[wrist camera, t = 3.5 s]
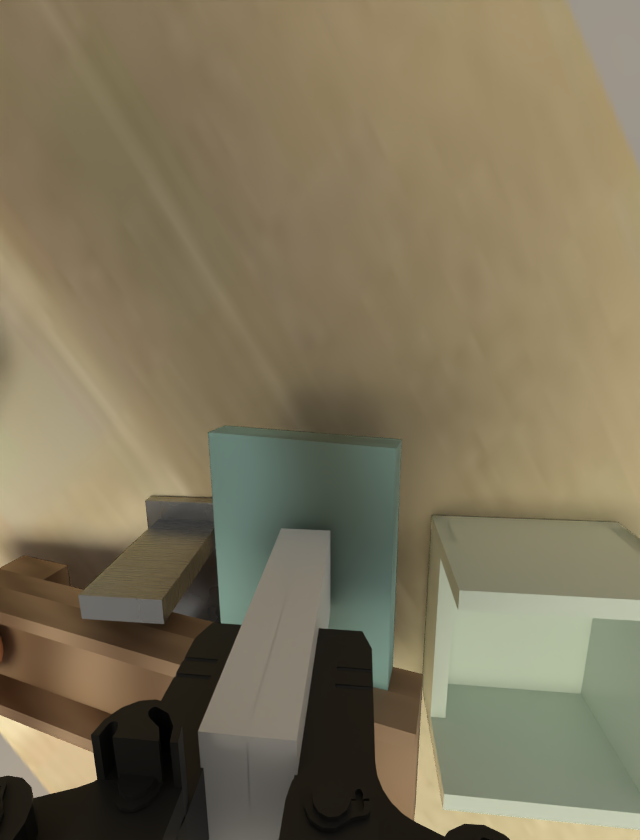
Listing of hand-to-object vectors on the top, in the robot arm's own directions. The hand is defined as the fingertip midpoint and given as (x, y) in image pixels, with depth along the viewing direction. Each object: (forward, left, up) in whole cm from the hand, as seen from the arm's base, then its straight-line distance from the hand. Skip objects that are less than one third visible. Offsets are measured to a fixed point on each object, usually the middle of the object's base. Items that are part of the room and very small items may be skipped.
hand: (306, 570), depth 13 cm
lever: (+3, -7, -5) cm, 9 cm away
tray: (+7, +9, -8) cm, 14 cm away
